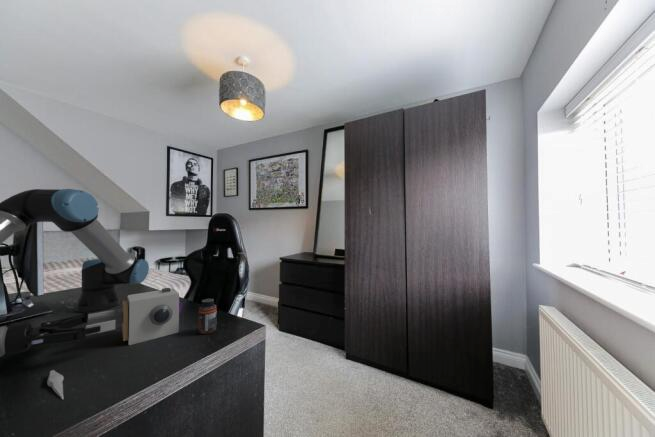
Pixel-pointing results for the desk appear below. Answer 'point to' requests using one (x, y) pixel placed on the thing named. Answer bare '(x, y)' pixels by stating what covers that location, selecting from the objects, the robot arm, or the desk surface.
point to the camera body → (152, 315)
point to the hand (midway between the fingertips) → (114, 318)
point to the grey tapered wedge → (56, 383)
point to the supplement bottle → (207, 317)
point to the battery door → (119, 317)
